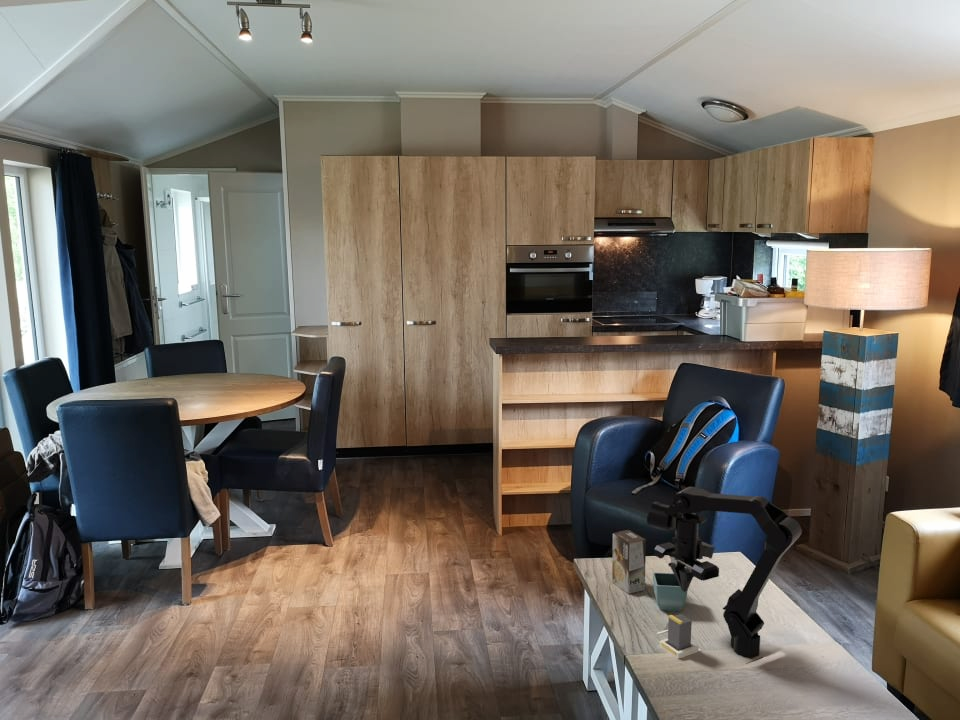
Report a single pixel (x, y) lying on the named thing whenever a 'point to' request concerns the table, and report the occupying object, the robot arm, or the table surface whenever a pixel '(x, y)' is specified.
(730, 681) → the table surface
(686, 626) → the plug
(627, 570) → the coffee box
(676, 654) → the header board
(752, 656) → the robot arm
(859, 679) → the table surface
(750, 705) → the table surface
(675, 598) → the flower pot
